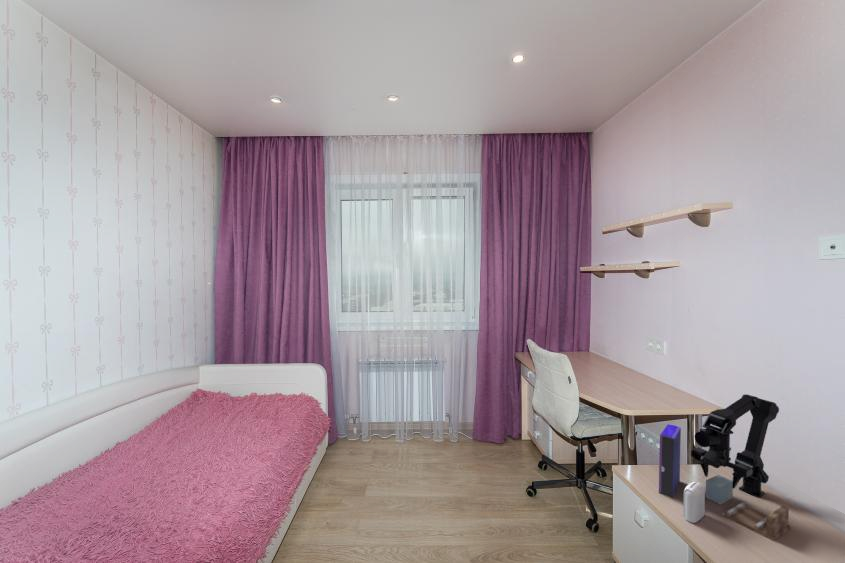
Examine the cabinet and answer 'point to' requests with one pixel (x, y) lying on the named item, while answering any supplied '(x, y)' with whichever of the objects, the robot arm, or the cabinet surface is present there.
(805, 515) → the cabinet surface
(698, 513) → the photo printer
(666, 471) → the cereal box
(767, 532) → the cleat stand
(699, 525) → the cabinet surface
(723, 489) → the light blue block
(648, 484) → the cabinet surface
